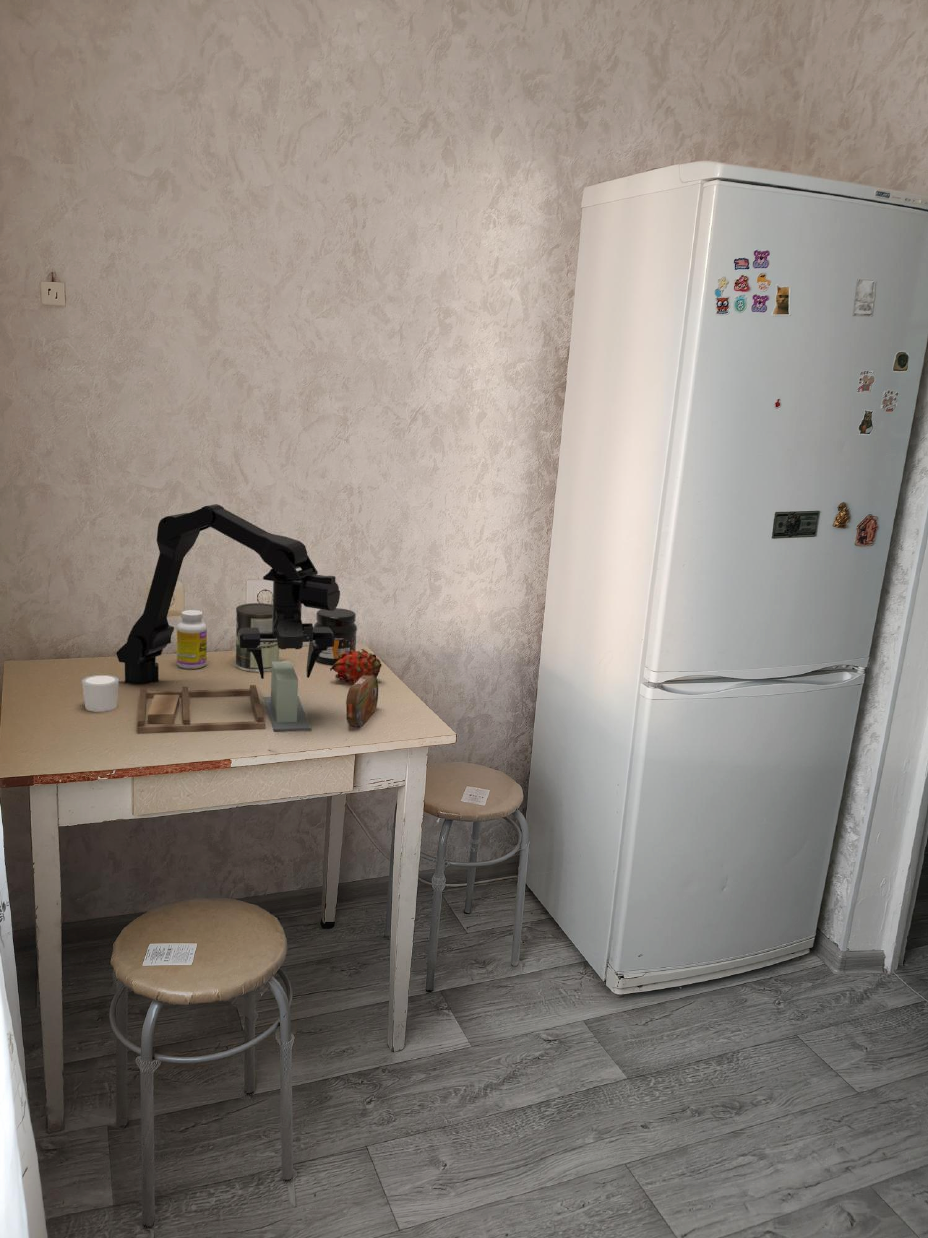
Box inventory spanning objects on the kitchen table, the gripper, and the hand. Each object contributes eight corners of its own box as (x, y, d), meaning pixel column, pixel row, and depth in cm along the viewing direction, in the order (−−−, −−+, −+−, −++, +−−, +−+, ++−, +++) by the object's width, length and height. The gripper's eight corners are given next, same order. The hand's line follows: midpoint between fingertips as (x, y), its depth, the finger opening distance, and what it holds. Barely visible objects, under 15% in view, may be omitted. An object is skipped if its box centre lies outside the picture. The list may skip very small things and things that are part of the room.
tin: (357, 732, 189) (359, 692, 187) (342, 730, 190) (344, 690, 187) (378, 708, 203) (381, 671, 201) (364, 706, 204) (366, 669, 202)
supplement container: (319, 667, 228) (321, 619, 225) (307, 654, 237) (309, 608, 234) (361, 664, 232) (363, 617, 229) (348, 652, 241) (350, 606, 238)
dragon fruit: (384, 689, 220) (333, 697, 217) (378, 660, 225) (327, 667, 222) (385, 668, 213) (332, 676, 211) (378, 638, 218) (326, 646, 216)
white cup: (126, 710, 191) (126, 677, 189) (103, 721, 184) (103, 687, 183) (98, 704, 193) (98, 672, 191) (74, 715, 186) (73, 681, 185)
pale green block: (276, 722, 189) (277, 680, 187) (270, 702, 200) (271, 661, 198) (296, 722, 190) (298, 679, 188) (289, 701, 201) (290, 661, 199)
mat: (267, 731, 185) (267, 729, 185) (258, 699, 203) (258, 696, 203) (310, 730, 188) (310, 728, 188) (298, 698, 205) (298, 695, 205)
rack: (137, 740, 177) (137, 722, 176) (140, 702, 196) (140, 686, 195) (265, 735, 184) (265, 718, 183) (256, 699, 202) (256, 684, 202)
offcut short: (147, 724, 181) (147, 714, 181) (154, 704, 192) (154, 694, 191) (173, 724, 182) (173, 714, 182) (179, 704, 193) (179, 694, 192)
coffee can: (228, 669, 221) (229, 611, 217) (244, 657, 231) (245, 601, 227) (271, 674, 220) (272, 615, 216) (285, 662, 229) (286, 605, 226)
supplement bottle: (201, 670, 218) (202, 617, 215) (173, 668, 218) (173, 614, 215) (209, 662, 225) (210, 610, 222) (182, 660, 225) (182, 607, 222)
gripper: (242, 614, 179) (241, 692, 183) (340, 613, 185) (337, 689, 189) (238, 599, 190) (237, 674, 193) (331, 600, 195) (328, 672, 199)
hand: (285, 677), depth 193 cm, fingers open, 9 cm apart
